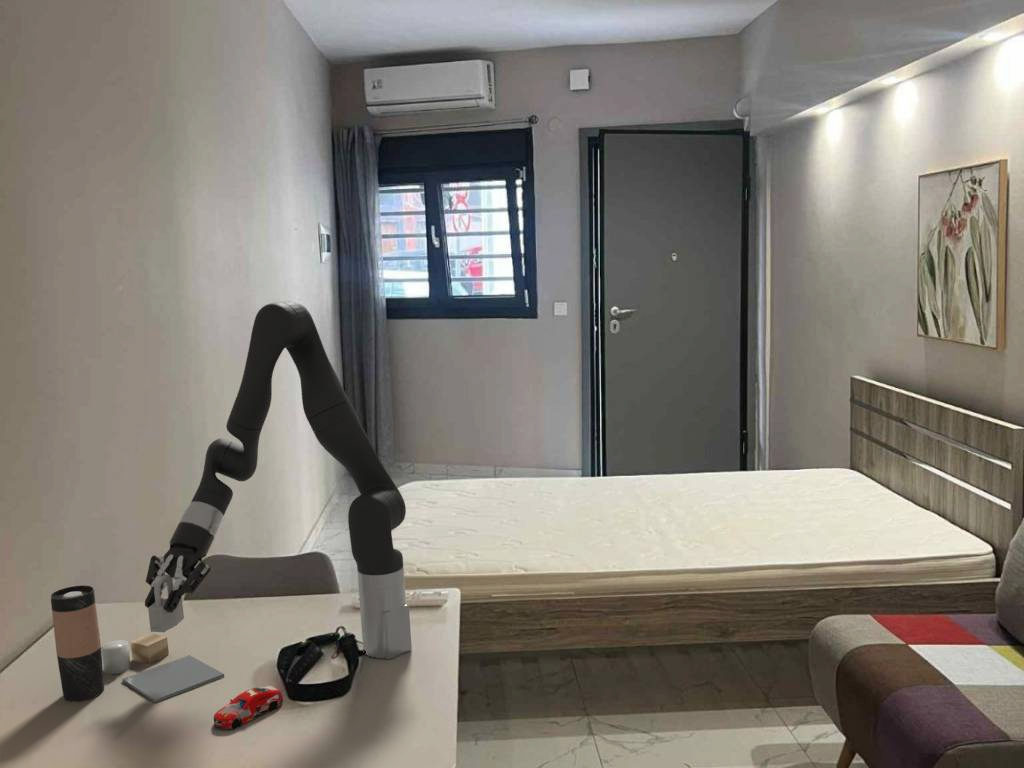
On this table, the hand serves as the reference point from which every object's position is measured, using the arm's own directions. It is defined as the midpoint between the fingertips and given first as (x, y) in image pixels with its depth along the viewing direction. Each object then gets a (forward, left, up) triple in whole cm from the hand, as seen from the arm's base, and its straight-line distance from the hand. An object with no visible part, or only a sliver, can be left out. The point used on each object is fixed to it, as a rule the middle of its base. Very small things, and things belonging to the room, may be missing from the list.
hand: (158, 608), depth 185 cm
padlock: (+1, -2, -4) cm, 5 cm away
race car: (-24, -4, -15) cm, 29 cm away
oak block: (+15, -4, -15) cm, 21 cm away
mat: (+1, -2, -15) cm, 15 cm away
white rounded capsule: (+15, +3, -15) cm, 21 cm away
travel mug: (+9, +12, -15) cm, 21 cm away
